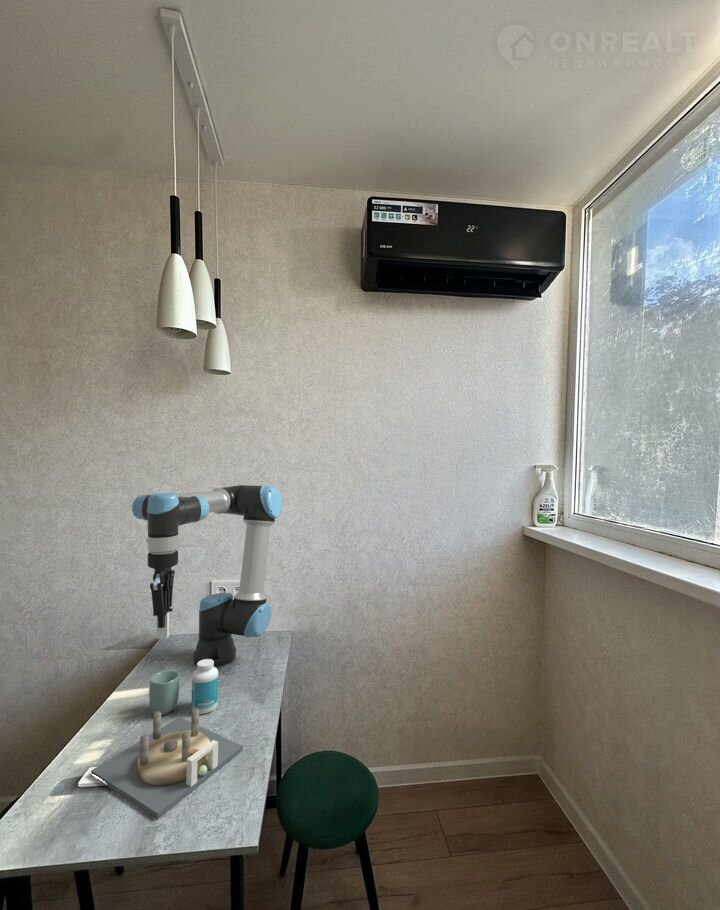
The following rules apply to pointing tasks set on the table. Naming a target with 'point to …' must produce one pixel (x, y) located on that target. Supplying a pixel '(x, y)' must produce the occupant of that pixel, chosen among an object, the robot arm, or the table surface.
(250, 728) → the table surface
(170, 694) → the cup
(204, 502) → the robot arm
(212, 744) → the stand
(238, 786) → the table surface
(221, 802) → the table surface
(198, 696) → the pill bottle
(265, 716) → the table surface
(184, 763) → the disc
